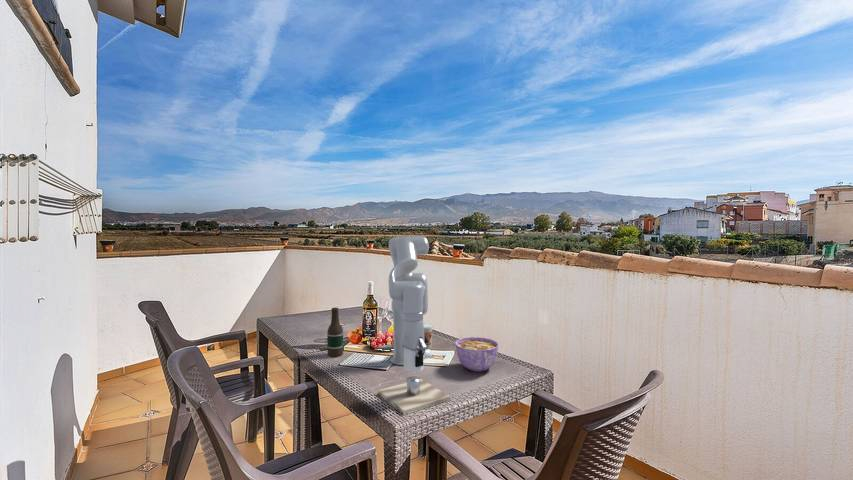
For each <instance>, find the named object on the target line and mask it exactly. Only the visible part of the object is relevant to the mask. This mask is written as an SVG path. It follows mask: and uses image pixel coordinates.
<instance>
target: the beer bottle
mask: <svg viewBox="0 0 853 480" xmlns="http://www.w3.org/2000/svg"><path fill="white" fill-rule="evenodd" d="M339 310H340V309H339V307H332V308H331V309H330V311H331V318H330V319H331V320H330V325H329V326H328V328H327V331H326V332H327V338H326V340H327V344H326V345H327V346H326V347H327V356H328V355H329V356H330V357H329V356H328V357H329V358H338V357H339V356H340V357H342V356H343V355H344V329H343V326H342V325H341V323H340V316H339V314H340V313H339Z"/></svg>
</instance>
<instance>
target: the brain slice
mask: <svg viewBox="0 0 853 480" xmlns="http://www.w3.org/2000/svg"><path fill="white" fill-rule="evenodd" d="M367 345H368V346H369V347H371V346H370V342H369V341H368V342H367ZM374 348H377V349H382V350H391V349H394V344H391V345H384V346H379V347H374Z"/></svg>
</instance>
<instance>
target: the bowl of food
mask: <svg viewBox="0 0 853 480" xmlns="http://www.w3.org/2000/svg"><path fill="white" fill-rule="evenodd" d="M499 347H500V344H499V342H498V341H496V340H494V339H491V338H486V337H479V336H477V337H475V336H470V337H462V338H459V339H457V340H456V341H455V348H456V355H457V357H458V361H459V363H460V364H461V366H463V367H464V368H466V369H468V370H470V371H471V372H477V373H478V372H483V371H486V370H488V369H489V368H492V367H493V366H494V364H495V362H496V359H497V357H498V356H497V355H498V351H499Z"/></svg>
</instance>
